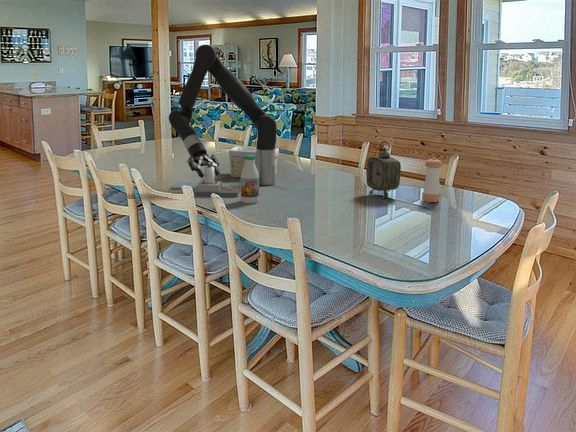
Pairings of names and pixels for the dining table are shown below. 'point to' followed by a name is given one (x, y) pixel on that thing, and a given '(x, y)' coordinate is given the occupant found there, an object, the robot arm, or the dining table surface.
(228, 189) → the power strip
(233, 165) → the storage basket
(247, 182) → the milk bottle
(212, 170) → the plug
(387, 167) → the tabletop clock
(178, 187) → the slate pad
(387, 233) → the dining table surface
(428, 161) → the pepper shaker
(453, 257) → the dining table surface
